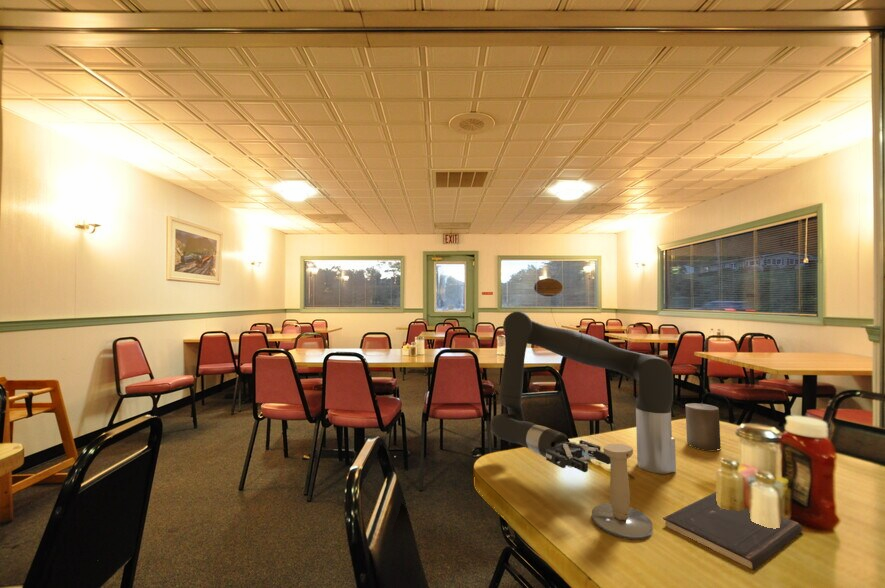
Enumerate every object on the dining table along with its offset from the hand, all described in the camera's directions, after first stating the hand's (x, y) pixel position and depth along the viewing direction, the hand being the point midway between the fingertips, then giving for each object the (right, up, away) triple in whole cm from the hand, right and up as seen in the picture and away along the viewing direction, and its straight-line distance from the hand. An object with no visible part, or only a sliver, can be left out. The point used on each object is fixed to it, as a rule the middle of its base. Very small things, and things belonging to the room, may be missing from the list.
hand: (598, 463), depth 86 cm
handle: (+3, -10, -5) cm, 11 cm away
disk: (+3, -11, -5) cm, 12 cm away
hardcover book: (+25, -11, -7) cm, 29 cm away
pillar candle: (+54, -13, +41) cm, 69 cm away
